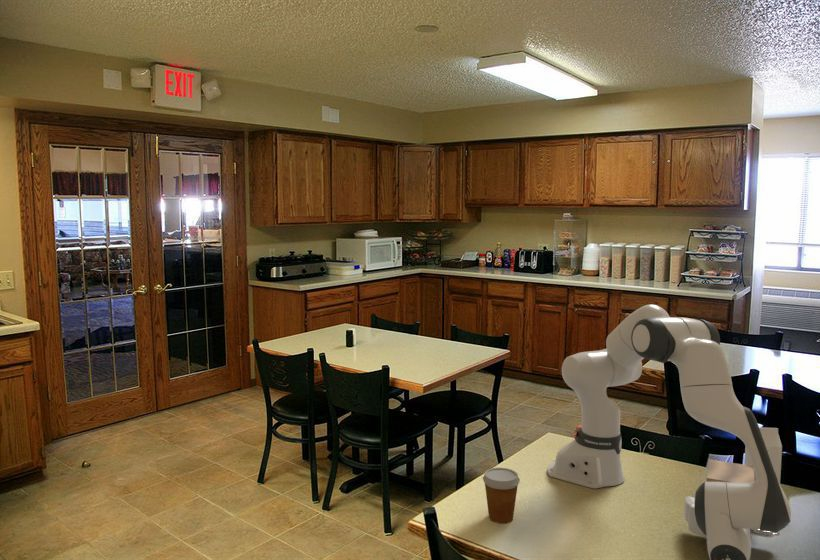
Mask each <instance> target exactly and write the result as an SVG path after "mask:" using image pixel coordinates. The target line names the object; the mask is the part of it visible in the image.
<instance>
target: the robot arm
mask: <svg viewBox="0 0 820 560" xmlns="http://www.w3.org/2000/svg"><path fill="white" fill-rule="evenodd" d="M720 343H721V336H720V333H719V330H718V328H717V327H716V326H715V324H713V323H712V322H710V321H707V320H705V319H701V318H695V317H694V318H689V317H682V316H674V317H673V316H672V317H671V316H670V315H669V313H668V312H667V311H666V310H665V309H664V308H663V307H662V306H659V305H657V304H646V305H643V306H641V307H639V308H638V309H636V310H634V311H632V312H631V313H630V314H629V315H628V316H626V317H625V318H624V319H623V320H622V321H621V322H620V323H619V324H618V325H617V326H616V327H615V328H614V329H613V330H612V331H611V332H610V333H609V334H608V335H607V336H606V339H605V346H606V347H605V348H603V349H599V350H590V351H589V350H588V351H582V352H577V353H575V354H574V353H573V354H572V355H569V356H567V357H565V358H564V360H563V362H562V363H561V376H562V379H563V381H564V383H565V384H566V385H567V386H568V387H569V388H571V389H572V390H573V391H574V392H575V394H576V395H577V397H578V399H579V402H580V403H579V404H580V407H581V408H580V410H581V424H579V425H577V426H576V428H575V431H574V436H573V437H574V440H571V441H570V442H568V443H567V444H564V445H563V446H561V448H559V450H558V452H557V453H556V457H555V460H553V461H551V462H550V463H549V465H548V467H547V471H546V473H547V476H549V477H551V478H555V479H558V480H562V481H565V482H569V483H573V484H576V485H579V486H583V487H587V488H590V489H595V490H597V489H599V488H604V487H613V486H615V487H616V486H619V485H621V484H622V483H624V482H625V476H624V472H623V468H622V461H621V451H622V445H623V443H622V433H621V409H620V406H619V405H618V404H617V403H616V402H615V401H614V400H612V399H610V398H609V397H608V395H607V388H609V387H610V388H612V387H618V386H625V385H627V384H631V383H633V382H636V381H637V380H639V379H640V377H641V376H642V373H643V362H642V361H643V360H644V359H646V360H650V361H654V362H659V363H662V364H665V363H666V362H671V363H673V364H674V365H675V367H676V368H677V370H678V374H679V375H678V377H679V384H680V385H679V386H680V393H681V394H680V395H681V398H682V403H683V406H684V409H685V411H686V412H687V414H688V415H689V416H690V417H691V418H693V419H694V420H695V421H697V422H699V423H701V424H703V425H706V426H708V427H711V428H714V429H718V430H722V431H724V432H727V433H730V434H732V435H734V436H735V437H737V438H739V439H740V440H741V441H742V442H743V444H744V446H746V448H747V451H748V454H749V457H750V460H751V462H752V465H753V468H754V471H755V474H756V477H757V479H756V481H755V482H752V483H741V482H707V481H704V482H702V483H701V484H700V485H699V486H698V487H697V489H696V491H695V493H694V495H695V496H689V495H688V496H685V497H684V508H683V509H684V518H685V521H686V523H687V526H688V531H689V532H691V533H694V534H696V535H699V536H702V537H703V538H705V539H706V548H707V549H706V551H707V555H708V557H709V560H751V556H752V542H751V538H752V536H757V537H758V536H759V537H764V538H773V537H774V536H775V537H776V536H780V532H781V531H782V530H784V528H786V527H787V526H788V525H790V523H791V517H792V511H791V505H790V502H789V499H788V496H787V495H786V493H785V492H784V489H783V487H782V486H781V483H780V484H779V482H778V479H777V477H776V473H775V470H774V467H773V464H772V462H771V458H770V455H769V453H768V450H767V447H766V444H765V441H764V439H763V436H762V434H761V432H760V429H759V427H760V426H759V424H758V421H757V418H756V416H755V415H754V413H753V412H752V410H751V409H750V408H748V407H746V406H743V405H742V404H741V402H740V401H739V399H738V398H737V396H736V394H735V391H734V387H733V381H732V376H731V372H730V368H729V363H728V361H727V357H726V354H725V352H724V349H723V348H722V345H721V344H720Z"/></svg>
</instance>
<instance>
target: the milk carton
mask: <svg viewBox="0 0 820 560" xmlns="http://www.w3.org/2000/svg"><path fill="white" fill-rule="evenodd" d="M759 429H760V432H761V434H762V436H763V439H764V441H765V444H766V447H767V450H768V453H769V455H770V458H771V462H772V464H773V467H774V470H775V473H776V477H777V479H778V482H779V484H780V485H781V476H782V475H781V473H782V472H781V471H782V455H783V453H782V452H783V444H782V441H781V439H780V435H779V428H777V427H761V426H759ZM744 446H745V445H744ZM744 465H749V466H753V465H752V462H751V460H750V457H749V454H748V451H747V448H746V446H745V448H744ZM753 469H754V468H753ZM756 479H757V477H756V474H755V471H754V482H755V481H756Z"/></svg>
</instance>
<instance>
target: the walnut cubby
mask: <svg viewBox="0 0 820 560" xmlns="http://www.w3.org/2000/svg"><path fill="white" fill-rule="evenodd" d="M706 482H741V483H752V482H754V469H753V466H749V465H745V464H742V463H735V462H729V461H723V460H716V459H710V458H709V459H708V464H707V472H706Z"/></svg>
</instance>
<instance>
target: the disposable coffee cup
mask: <svg viewBox="0 0 820 560" xmlns="http://www.w3.org/2000/svg"><path fill="white" fill-rule="evenodd" d="M520 480H521V479H520V477H519V475H518V472H516V471H515V470H513V469H510V468H508V467H507V468H506V467H492V468H489V469H487V470H485V472H484V474H483V477H482V481H483V482H484V486H485V496H486V502H487V503H486V504H487V505H486V506H487V511H488V520H490V521H491V522H493V523H494V524H495V523H496V524H500V525H503V524H510V523H511V522H513V520H514V514H515V513H514V512H515V507H516V501H517V500H516V499H517V492H518V486H519V484H520Z"/></svg>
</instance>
